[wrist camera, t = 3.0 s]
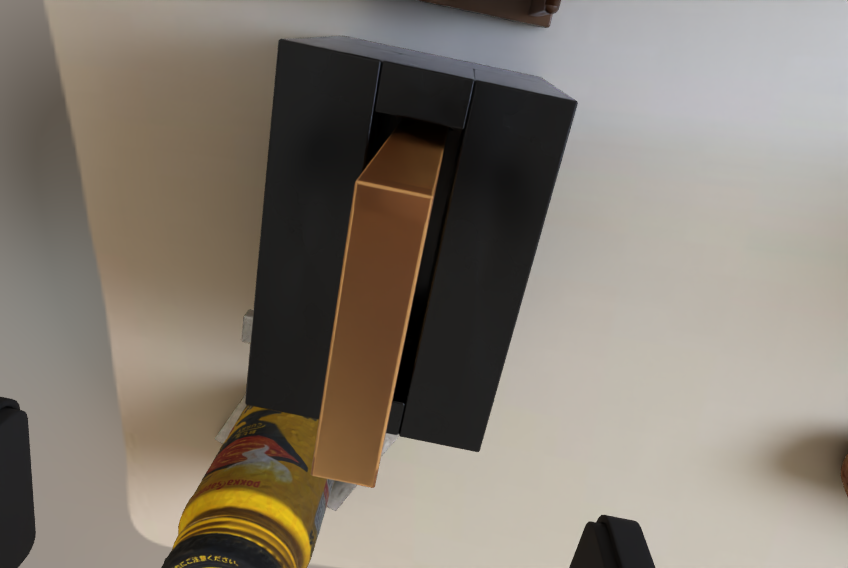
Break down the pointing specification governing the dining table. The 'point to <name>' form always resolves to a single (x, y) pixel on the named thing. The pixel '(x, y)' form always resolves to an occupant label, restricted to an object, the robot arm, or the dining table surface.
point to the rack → (508, 9)
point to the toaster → (446, 236)
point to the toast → (376, 300)
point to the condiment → (259, 496)
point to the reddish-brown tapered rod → (845, 474)
